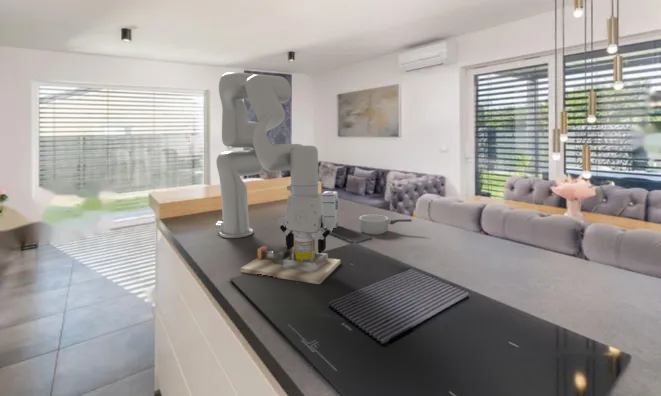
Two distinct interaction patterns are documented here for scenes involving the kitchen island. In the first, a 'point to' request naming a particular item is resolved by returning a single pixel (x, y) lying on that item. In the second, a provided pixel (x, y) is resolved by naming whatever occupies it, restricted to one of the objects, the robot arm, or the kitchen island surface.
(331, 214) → the syrup box
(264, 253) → the lock pin
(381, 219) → the saucepan
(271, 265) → the dock
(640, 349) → the kitchen island surface
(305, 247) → the supplement bottle
